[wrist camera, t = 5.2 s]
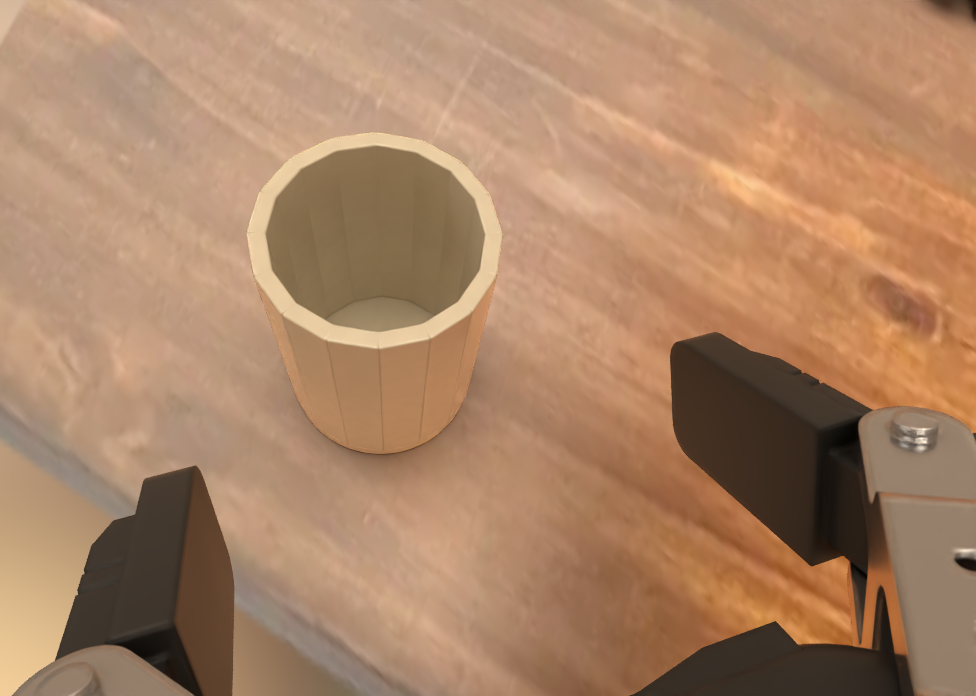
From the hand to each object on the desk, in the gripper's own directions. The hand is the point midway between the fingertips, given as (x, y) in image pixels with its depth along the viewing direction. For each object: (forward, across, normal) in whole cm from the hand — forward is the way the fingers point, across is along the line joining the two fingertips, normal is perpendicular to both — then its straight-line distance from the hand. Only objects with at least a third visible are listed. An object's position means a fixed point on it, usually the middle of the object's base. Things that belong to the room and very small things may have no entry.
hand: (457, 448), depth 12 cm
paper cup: (+11, 0, +3) cm, 11 cm away
